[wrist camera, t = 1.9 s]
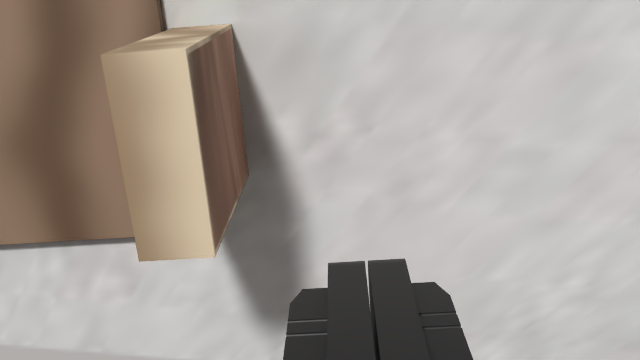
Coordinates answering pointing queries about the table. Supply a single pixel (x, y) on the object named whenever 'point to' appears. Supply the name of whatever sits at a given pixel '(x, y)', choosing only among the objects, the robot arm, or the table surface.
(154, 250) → the wooden block
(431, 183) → the table surface
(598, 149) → the table surface
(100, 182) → the walnut board
